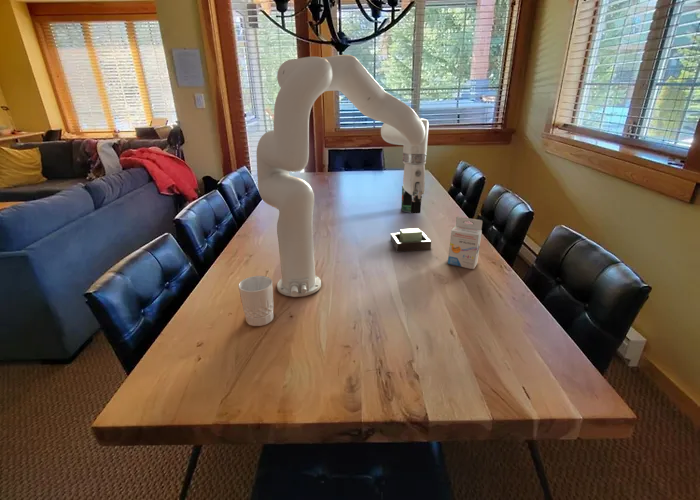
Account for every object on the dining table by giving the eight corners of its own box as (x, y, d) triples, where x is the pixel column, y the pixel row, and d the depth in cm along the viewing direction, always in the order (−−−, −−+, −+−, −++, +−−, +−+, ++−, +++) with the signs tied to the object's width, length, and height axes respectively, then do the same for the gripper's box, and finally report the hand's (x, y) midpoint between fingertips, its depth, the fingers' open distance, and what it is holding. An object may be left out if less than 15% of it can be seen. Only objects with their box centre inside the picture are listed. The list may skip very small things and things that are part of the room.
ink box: (447, 264, 119) (451, 220, 114) (451, 258, 123) (455, 216, 118) (474, 269, 116) (480, 225, 110) (477, 263, 120) (483, 220, 114)
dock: (430, 249, 131) (431, 241, 129) (397, 251, 129) (397, 243, 128) (421, 239, 140) (422, 231, 138) (390, 241, 138) (390, 233, 137)
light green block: (421, 245, 133) (422, 231, 131) (402, 246, 132) (403, 233, 130) (418, 240, 136) (418, 228, 134) (399, 242, 136) (399, 229, 134)
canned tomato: (417, 207, 176) (419, 184, 172) (418, 212, 169) (420, 188, 165) (400, 207, 177) (401, 184, 173) (401, 212, 170) (402, 188, 166)
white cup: (262, 306, 98) (258, 272, 94) (282, 317, 93) (279, 281, 89) (237, 320, 92) (231, 284, 88) (257, 332, 88) (252, 295, 84)
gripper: (434, 162, 115) (430, 216, 121) (417, 154, 130) (414, 201, 137) (411, 163, 114) (407, 217, 120) (396, 154, 129) (394, 202, 136)
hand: (411, 209), depth 129 cm, fingers open, 9 cm apart
